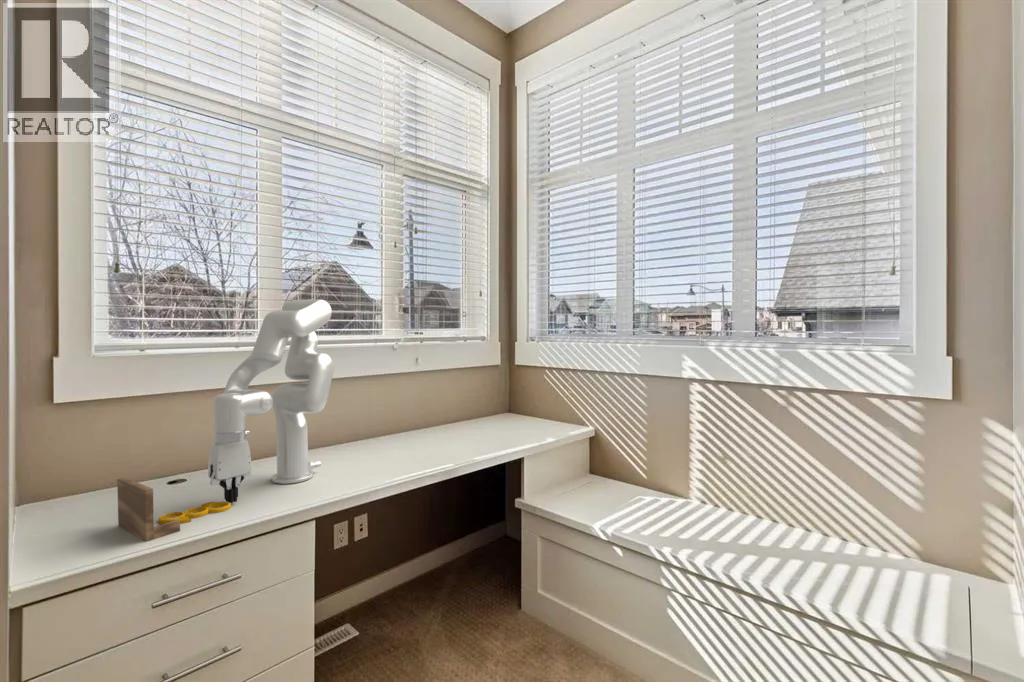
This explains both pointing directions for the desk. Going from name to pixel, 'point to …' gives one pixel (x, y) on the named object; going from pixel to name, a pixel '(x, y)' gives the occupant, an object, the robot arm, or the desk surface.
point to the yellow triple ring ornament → (188, 514)
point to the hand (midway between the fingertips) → (231, 501)
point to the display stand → (140, 511)
